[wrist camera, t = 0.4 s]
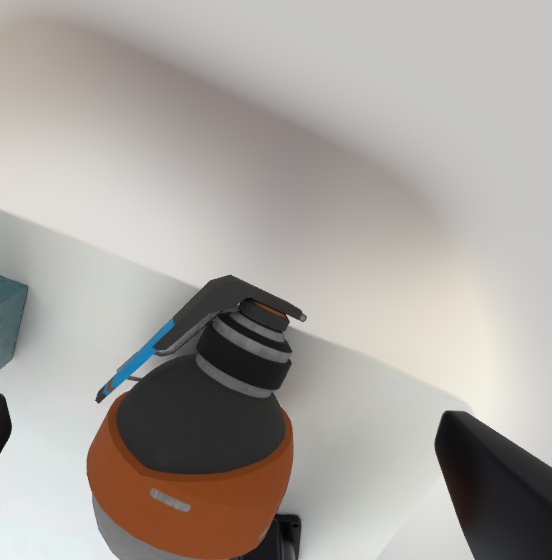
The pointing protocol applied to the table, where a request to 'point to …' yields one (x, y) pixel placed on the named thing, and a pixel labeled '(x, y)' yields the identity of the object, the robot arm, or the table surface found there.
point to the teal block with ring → (10, 316)
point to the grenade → (198, 434)
